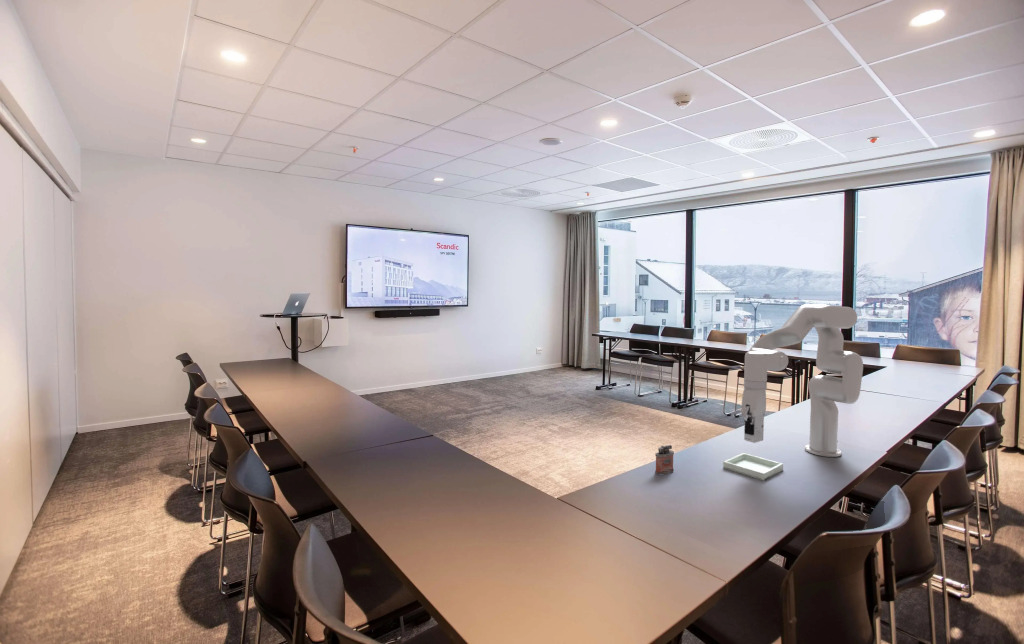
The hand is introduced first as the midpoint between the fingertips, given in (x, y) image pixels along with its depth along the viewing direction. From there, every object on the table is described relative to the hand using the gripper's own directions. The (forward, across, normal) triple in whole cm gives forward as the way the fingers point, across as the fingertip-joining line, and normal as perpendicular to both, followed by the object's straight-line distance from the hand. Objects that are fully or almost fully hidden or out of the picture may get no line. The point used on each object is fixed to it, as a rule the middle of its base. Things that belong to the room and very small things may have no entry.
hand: (753, 431), depth 178 cm
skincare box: (+3, 0, 0) cm, 3 cm away
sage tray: (+14, 0, 0) cm, 14 cm away
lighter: (+15, +28, -19) cm, 37 cm away
